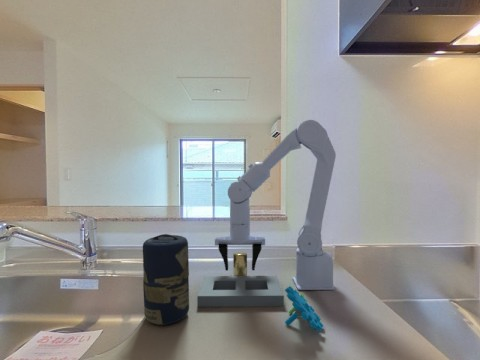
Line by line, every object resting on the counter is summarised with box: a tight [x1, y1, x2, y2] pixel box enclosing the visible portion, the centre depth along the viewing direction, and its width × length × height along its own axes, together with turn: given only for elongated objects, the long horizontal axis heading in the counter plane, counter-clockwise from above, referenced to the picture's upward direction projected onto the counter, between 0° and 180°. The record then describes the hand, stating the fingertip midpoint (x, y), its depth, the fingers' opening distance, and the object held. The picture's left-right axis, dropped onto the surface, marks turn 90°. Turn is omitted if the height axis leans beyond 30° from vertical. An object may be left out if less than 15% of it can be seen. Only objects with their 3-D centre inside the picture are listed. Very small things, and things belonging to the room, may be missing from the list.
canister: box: [142, 233, 190, 326], centre depth 60 cm, size 10×10×18 cm
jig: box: [196, 275, 285, 308], centre depth 71 cm, size 20×12×2 cm, turn 90°
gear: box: [284, 285, 324, 332], centre depth 57 cm, size 11×6×10 cm
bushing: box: [232, 251, 248, 276], centre depth 82 cm, size 4×4×7 cm
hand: (240, 269), depth 82 cm, fingers open, 7 cm apart
